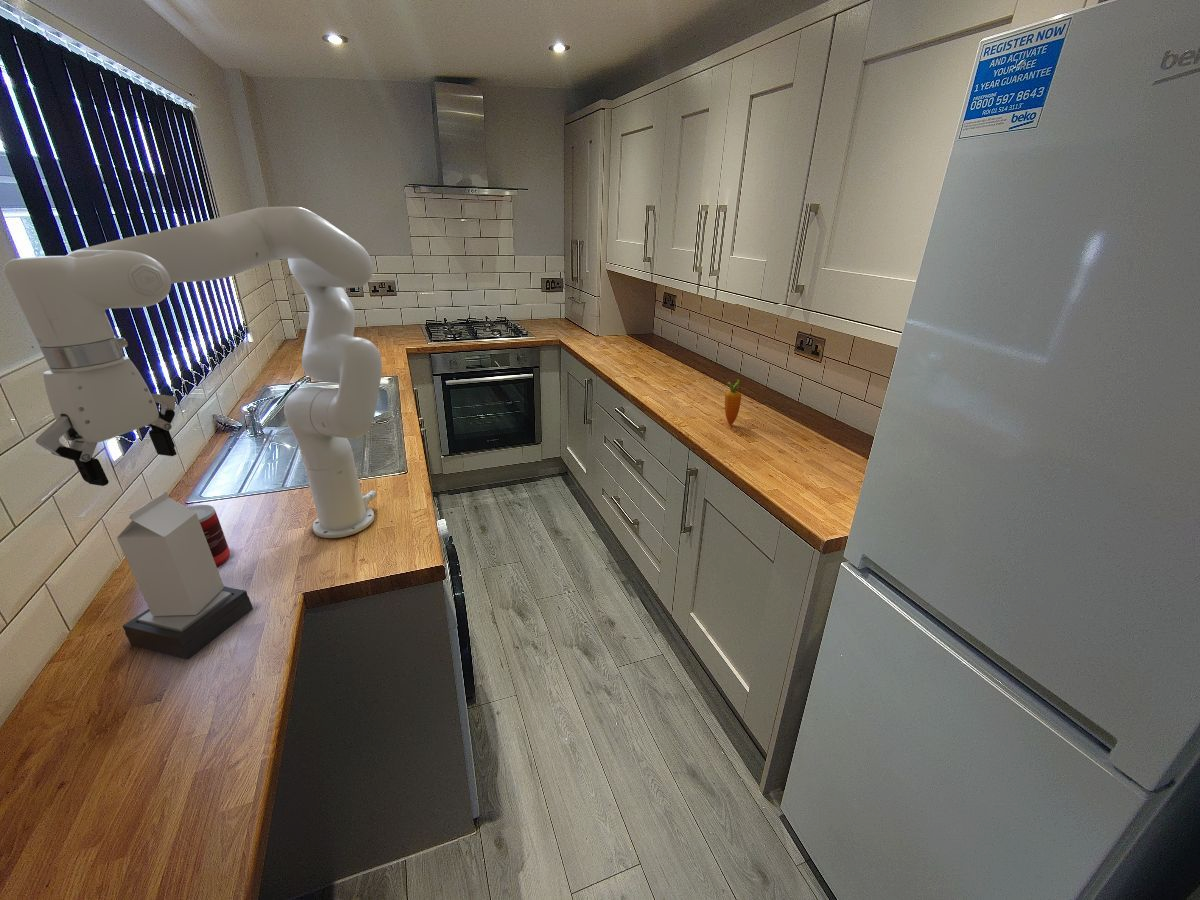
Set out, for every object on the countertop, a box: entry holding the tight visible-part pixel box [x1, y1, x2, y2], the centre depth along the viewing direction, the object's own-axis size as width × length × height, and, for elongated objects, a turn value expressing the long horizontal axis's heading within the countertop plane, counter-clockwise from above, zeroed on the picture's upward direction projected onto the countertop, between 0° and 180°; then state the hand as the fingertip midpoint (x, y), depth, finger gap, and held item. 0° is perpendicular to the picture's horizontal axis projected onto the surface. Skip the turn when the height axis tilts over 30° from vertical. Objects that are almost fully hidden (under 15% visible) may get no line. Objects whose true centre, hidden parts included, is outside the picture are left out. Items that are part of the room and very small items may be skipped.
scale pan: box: [138, 591, 232, 633], centre depth 87 cm, size 9×9×2 cm
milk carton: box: [116, 490, 225, 616], centre depth 83 cm, size 7×7×19 cm
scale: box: [122, 585, 254, 660], centre depth 87 cm, size 12×12×4 cm
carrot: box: [724, 379, 742, 426], centre depth 167 cm, size 5×5×15 cm
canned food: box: [186, 504, 231, 568], centre depth 103 cm, size 8×8×11 cm
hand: (135, 468), depth 77 cm, fingers open, 9 cm apart
